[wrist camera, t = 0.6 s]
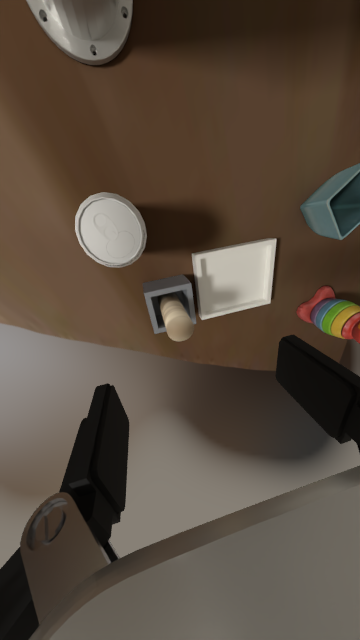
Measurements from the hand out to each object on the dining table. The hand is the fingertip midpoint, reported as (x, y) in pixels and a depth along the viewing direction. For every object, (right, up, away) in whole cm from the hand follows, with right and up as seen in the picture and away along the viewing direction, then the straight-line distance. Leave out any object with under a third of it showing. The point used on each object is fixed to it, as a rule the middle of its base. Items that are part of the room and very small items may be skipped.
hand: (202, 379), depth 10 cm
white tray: (+11, +13, +33) cm, 37 cm away
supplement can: (-12, +20, +24) cm, 34 cm away
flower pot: (+28, +28, +30) cm, 49 cm away
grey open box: (-4, +8, +32) cm, 33 cm away
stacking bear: (+38, +7, +43) cm, 58 cm away
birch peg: (-4, +8, +31) cm, 32 cm away
